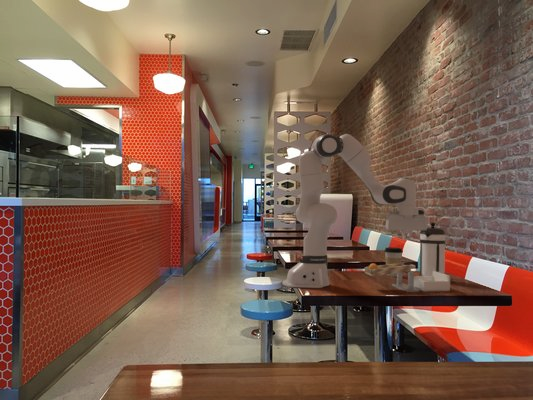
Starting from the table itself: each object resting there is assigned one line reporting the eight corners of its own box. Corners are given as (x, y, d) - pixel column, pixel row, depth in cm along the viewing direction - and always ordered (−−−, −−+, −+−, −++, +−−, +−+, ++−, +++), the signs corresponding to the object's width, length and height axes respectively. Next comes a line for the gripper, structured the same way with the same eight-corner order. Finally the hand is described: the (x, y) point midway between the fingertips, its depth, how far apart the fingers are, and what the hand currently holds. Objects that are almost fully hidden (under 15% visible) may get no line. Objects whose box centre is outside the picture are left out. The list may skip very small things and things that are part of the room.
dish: (423, 291, 188) (424, 275, 188) (409, 285, 201) (409, 271, 201) (449, 291, 189) (450, 275, 189) (433, 285, 203) (434, 270, 203)
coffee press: (454, 282, 210) (455, 223, 210) (422, 282, 210) (423, 222, 211) (440, 276, 227) (441, 221, 228) (411, 276, 228) (412, 221, 228)
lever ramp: (371, 278, 187) (370, 269, 187) (358, 272, 204) (357, 264, 203) (423, 272, 191) (423, 263, 191) (406, 266, 207) (406, 258, 207)
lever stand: (406, 292, 186) (406, 272, 186) (391, 285, 201) (392, 267, 201) (419, 291, 186) (419, 272, 187) (403, 285, 201) (403, 267, 201)
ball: (371, 273, 189) (370, 264, 189) (368, 272, 193) (367, 263, 193) (379, 272, 190) (378, 263, 190) (376, 270, 194) (375, 262, 194)
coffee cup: (400, 274, 233) (400, 247, 233) (404, 277, 223) (404, 249, 223) (382, 273, 234) (382, 247, 234) (385, 276, 224) (386, 249, 224)
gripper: (389, 211, 199) (388, 240, 199) (429, 211, 202) (429, 240, 202) (383, 211, 205) (383, 239, 205) (422, 211, 208) (422, 238, 208)
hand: (406, 239), depth 203 cm, fingers closed
